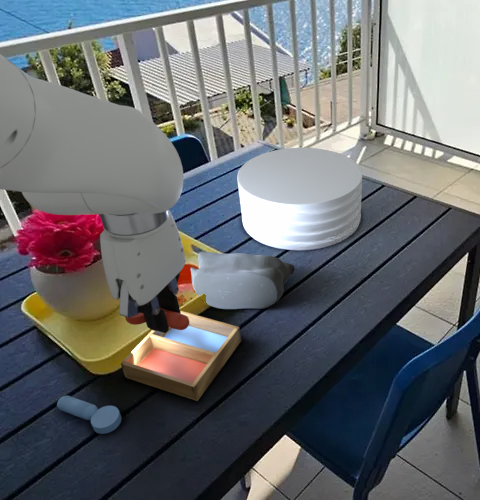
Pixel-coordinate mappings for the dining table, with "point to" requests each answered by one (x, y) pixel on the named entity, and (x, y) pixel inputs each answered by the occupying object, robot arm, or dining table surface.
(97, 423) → the blue disc-ended peg
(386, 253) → the dining table surface
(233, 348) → the caddy
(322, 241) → the plate stack
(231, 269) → the rock
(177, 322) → the red knob peg
